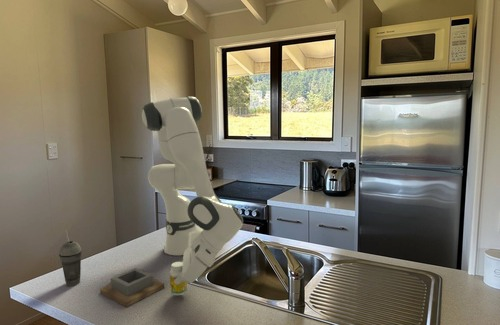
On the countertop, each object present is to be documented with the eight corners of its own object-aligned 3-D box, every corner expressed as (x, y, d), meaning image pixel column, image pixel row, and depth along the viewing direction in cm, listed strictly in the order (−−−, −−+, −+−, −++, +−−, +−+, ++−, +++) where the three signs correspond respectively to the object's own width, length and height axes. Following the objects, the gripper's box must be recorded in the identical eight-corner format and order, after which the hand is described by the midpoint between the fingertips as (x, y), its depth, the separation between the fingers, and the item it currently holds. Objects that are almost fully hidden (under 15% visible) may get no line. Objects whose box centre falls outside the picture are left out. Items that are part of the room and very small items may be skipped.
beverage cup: (74, 289, 117) (70, 233, 115) (56, 287, 119) (51, 232, 116) (88, 279, 124) (84, 227, 122) (71, 277, 126) (67, 226, 123)
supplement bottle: (188, 293, 111) (187, 265, 109) (172, 297, 109) (170, 269, 107) (185, 286, 116) (183, 259, 114) (169, 289, 113) (167, 262, 112)
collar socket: (138, 276, 127) (137, 263, 126) (164, 287, 118) (163, 274, 117) (100, 292, 115) (99, 279, 114) (126, 307, 106) (125, 292, 105)
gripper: (198, 230, 121) (171, 258, 121) (198, 253, 101) (166, 287, 101) (210, 241, 122) (184, 269, 122) (213, 266, 102) (182, 299, 102)
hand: (176, 277), depth 111 cm, fingers closed on supplement bottle, 5 cm apart
